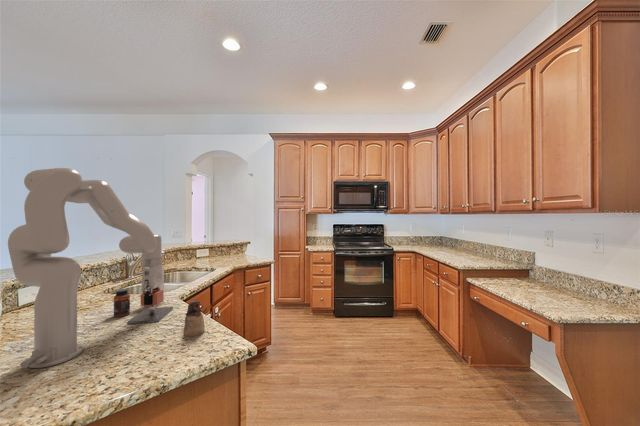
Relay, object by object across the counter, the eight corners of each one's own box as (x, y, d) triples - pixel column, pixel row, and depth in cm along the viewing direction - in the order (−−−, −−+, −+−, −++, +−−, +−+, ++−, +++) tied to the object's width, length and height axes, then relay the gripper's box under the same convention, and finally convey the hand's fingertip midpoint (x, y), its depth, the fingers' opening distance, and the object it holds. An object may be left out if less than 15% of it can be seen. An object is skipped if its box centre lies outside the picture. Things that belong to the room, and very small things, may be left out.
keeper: (158, 321, 109) (158, 306, 109) (127, 324, 107) (127, 309, 107) (173, 308, 125) (173, 295, 125) (145, 310, 123) (145, 297, 123)
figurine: (197, 327, 103) (197, 297, 103) (208, 331, 100) (208, 299, 100) (179, 334, 97) (179, 302, 97) (190, 338, 93) (190, 305, 94)
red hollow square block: (157, 305, 113) (157, 293, 113) (140, 306, 112) (140, 294, 112) (163, 300, 120) (163, 289, 120) (147, 301, 119) (147, 290, 119)
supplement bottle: (133, 312, 120) (133, 288, 120) (122, 317, 114) (122, 292, 114) (121, 312, 120) (121, 288, 121) (110, 317, 115) (110, 291, 115)
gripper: (152, 265, 108) (152, 308, 108) (168, 258, 125) (169, 295, 125) (132, 266, 107) (132, 309, 107) (151, 259, 124) (151, 296, 124)
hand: (152, 301), depth 116 cm, fingers closed on red hollow square block, 6 cm apart
